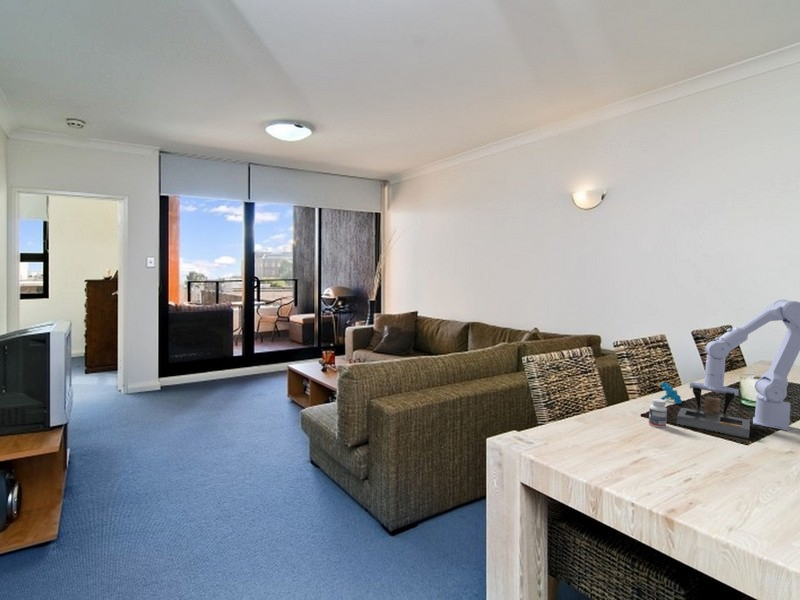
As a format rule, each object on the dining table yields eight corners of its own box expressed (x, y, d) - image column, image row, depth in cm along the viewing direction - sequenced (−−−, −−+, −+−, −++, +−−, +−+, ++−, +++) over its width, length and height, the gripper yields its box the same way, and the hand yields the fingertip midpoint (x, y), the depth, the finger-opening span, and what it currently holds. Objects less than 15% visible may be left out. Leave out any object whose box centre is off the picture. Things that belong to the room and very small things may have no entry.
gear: (678, 402, 176) (660, 381, 181) (665, 410, 179) (648, 389, 184) (687, 401, 183) (670, 380, 188) (675, 409, 186) (658, 388, 192)
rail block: (749, 428, 153) (749, 419, 153) (748, 438, 144) (749, 428, 144) (680, 415, 166) (681, 406, 165) (676, 424, 156) (677, 415, 156)
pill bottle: (650, 421, 158) (651, 396, 158) (667, 425, 155) (668, 400, 154) (647, 425, 154) (648, 400, 153) (664, 429, 151) (666, 403, 150)
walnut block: (719, 417, 164) (720, 398, 164) (718, 420, 161) (719, 401, 160) (704, 414, 167) (706, 396, 166) (703, 417, 164) (705, 399, 163)
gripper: (689, 372, 164) (687, 409, 165) (739, 379, 155) (736, 418, 156) (691, 369, 169) (689, 404, 171) (739, 376, 161) (736, 413, 162)
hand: (711, 410), depth 164 cm, fingers open, 7 cm apart
